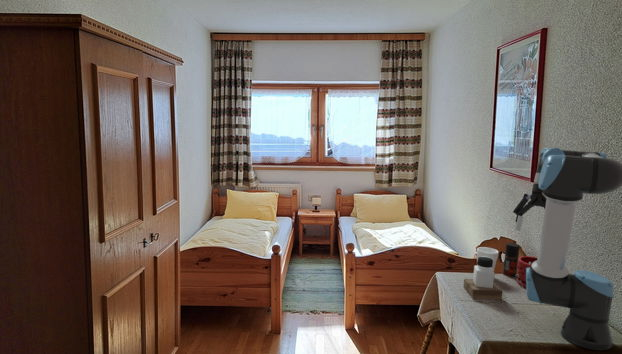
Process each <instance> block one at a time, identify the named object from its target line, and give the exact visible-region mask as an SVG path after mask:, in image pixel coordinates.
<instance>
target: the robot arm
mask: <svg viewBox="0 0 622 354" xmlns="http://www.w3.org/2000/svg"><path fill="white" fill-rule="evenodd" d="M534 175H535V176H534V180H533V182H534V183H533V185H532V189H531V194H529V193H528V194H527V193H524V194H523V197H522V199H521V200H520V201H519V203H518V204H517V205H516V206H515V208H514V209H513V211H512V213H513V214H515V215H516V218H515V224H516V225H515V227H514V228H515V229H514V230H515V231H516V232H521V229H522V225H523V221H524V216H523V215H525V214H526V213H527V212H528V211H529V210H530V209H532V208H533V207H535V206H536V207H540V208H543V209H544V214H543V218H542V219H543V220H542V227H541V234H540V240H539V246H538V247H539V248H538V253H537V258H538V259H537V261H534V262H533V263H532V266H531V268H526V287H525V288H526V296H527V299H528V300H529V301H530V302H534V303H539V304H540V305H542V304H543V305H544V304H545V305H551V306H555V307H560V308H565V309H566V308H567V309H569V312H568V315H567V317H566V319H565V320H564V322H563V324H562V326H561V328H560V334H561V336H562V337H563V338H564V339H565V340H566V341H567V342H569V343H571V344H573V345H576V346H578V347H581V348H583V349H587V350H593V351H607V350H609V349H611V348H612V346H613V345H612V344H613V338H612V334H611V329H610V324H609V322H610V316H611V308H612V303H613V298H614V283H613V282H612V281H611V280H610V279H608V278H607V277H606V276H603V275H600V274H598V273H596V272H593V271H588V270H585V269H584V270H583V269H581V270H580V269H578V270H575V271H574V273H573V274H572V273H570V270H569V268H568V267H567V265H566V262H567V257H568V251H569V250H568V249H569V245H570V240H571V233H572V228H573V223H574V216H575V211H576V205H577V203H579V202H581V201H582V200H583V197H584V194H588V195H590V194H592V195H602V194H608V193H612V192H615V191H617V190H619V189H620V188H622V163H621V162H620V161H618V160H616V159H611V158H608V157H607V154H606V153H605V152H598V151H583V150H582V151H581V150H579V151H578V150H567V149H566V150H565V149H560V148H558V147H545V148H542V149H541V151H540V154H539V158H538V163H537V168H536V172H535V174H534Z"/></svg>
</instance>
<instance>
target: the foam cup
mask: <svg viewBox="0 0 622 354" xmlns="http://www.w3.org/2000/svg"><path fill="white" fill-rule="evenodd" d="M481 256H485V257H489V258H491V259H492V260H493V266H492V269H493V271H494V272H495V268H496V266H497V265H496V264H497V261H498V257H499V250H497V249H495V248H492V247H485V246H480V247H477V248H476V260H477V262H478V258H479V257H481Z"/></svg>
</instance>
